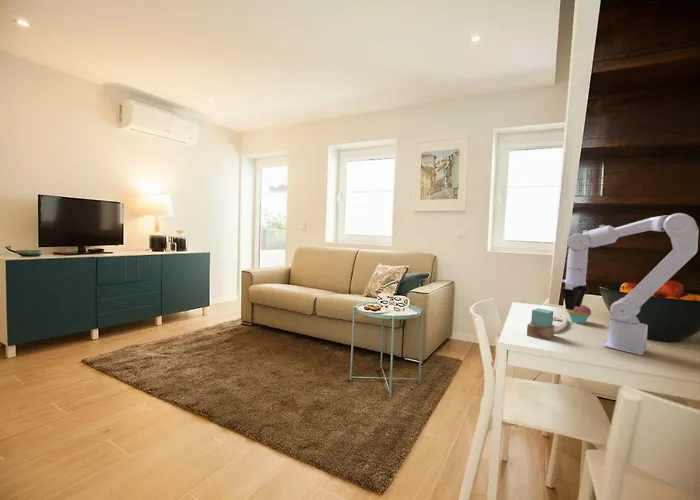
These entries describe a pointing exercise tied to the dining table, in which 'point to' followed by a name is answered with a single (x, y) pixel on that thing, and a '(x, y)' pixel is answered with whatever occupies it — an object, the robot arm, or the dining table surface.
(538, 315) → the teal cube
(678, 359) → the dining table surface
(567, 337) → the dining table surface
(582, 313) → the cupcake
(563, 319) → the white curved loop
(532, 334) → the walnut block
